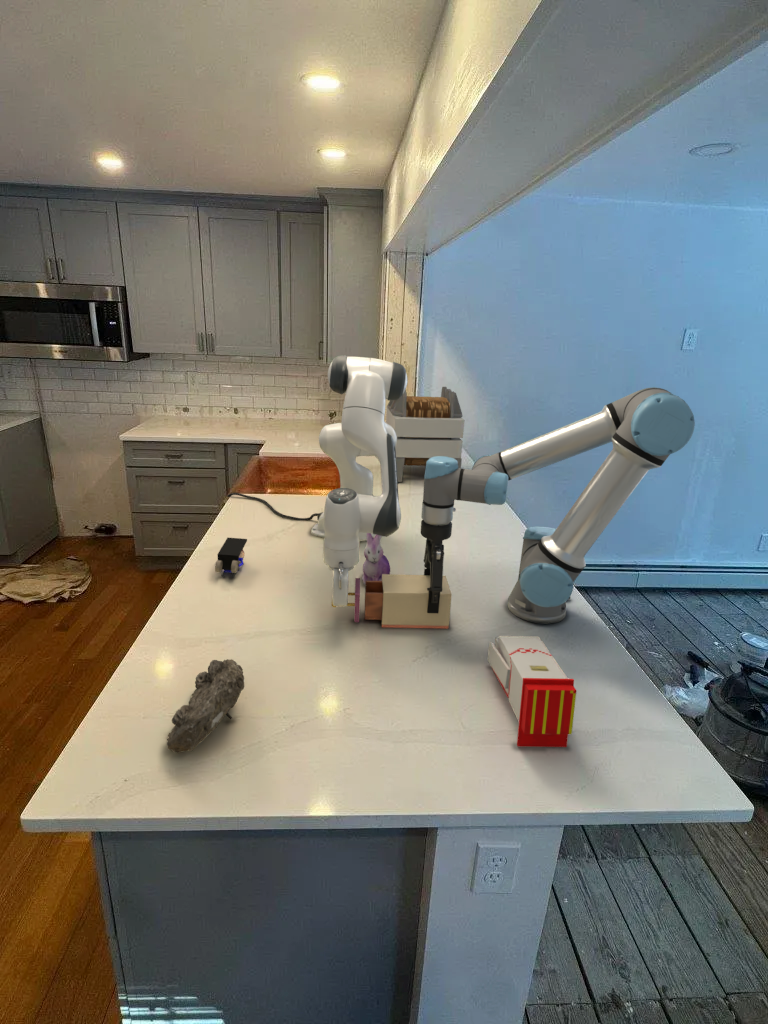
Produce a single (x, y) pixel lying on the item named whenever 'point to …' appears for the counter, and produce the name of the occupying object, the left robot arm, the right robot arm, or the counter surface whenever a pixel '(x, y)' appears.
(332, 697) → the counter surface
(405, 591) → the beige drawer cabinet
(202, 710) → the fossil
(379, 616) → the drawer
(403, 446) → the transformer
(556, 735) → the toy
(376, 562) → the figurine
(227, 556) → the figurine character
